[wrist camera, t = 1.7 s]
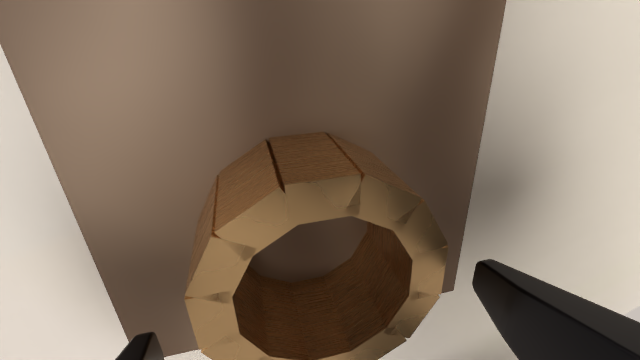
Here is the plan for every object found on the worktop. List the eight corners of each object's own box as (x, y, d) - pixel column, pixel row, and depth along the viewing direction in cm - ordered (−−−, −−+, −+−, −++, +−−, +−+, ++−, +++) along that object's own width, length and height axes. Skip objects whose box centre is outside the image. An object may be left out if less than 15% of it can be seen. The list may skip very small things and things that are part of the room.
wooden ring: (399, 123, 11) (462, 159, 8) (389, 282, 14) (431, 352, 11) (179, 148, 10) (155, 203, 7) (220, 318, 13) (217, 409, 10)
